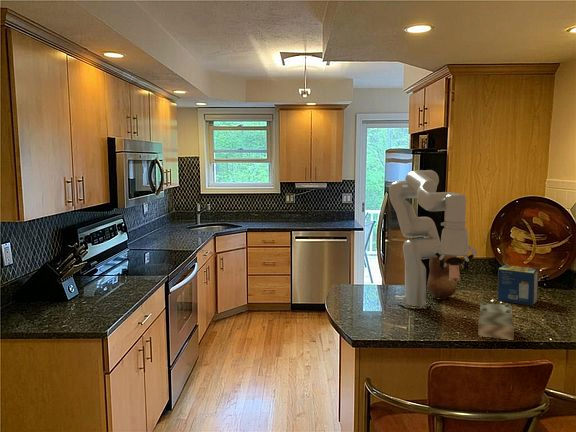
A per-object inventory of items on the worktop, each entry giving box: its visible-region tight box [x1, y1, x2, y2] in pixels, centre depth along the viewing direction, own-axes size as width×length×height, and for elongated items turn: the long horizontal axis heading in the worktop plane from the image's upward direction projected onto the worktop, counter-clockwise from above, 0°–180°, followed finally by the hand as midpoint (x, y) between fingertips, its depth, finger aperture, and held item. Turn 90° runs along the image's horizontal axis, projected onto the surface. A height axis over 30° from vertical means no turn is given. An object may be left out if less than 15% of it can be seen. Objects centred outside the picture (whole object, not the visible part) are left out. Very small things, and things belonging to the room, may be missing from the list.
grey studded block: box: [477, 301, 515, 341], centre depth 174 cm, size 12×12×11 cm
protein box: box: [497, 264, 539, 307], centre depth 215 cm, size 10×15×16 cm
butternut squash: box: [426, 255, 457, 300], centre depth 222 cm, size 14×13×25 cm
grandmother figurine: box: [444, 255, 464, 282], centre depth 178 cm, size 8×4×13 cm, turn 92°
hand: (453, 269), depth 178 cm, fingers closed on grandmother figurine, 7 cm apart
